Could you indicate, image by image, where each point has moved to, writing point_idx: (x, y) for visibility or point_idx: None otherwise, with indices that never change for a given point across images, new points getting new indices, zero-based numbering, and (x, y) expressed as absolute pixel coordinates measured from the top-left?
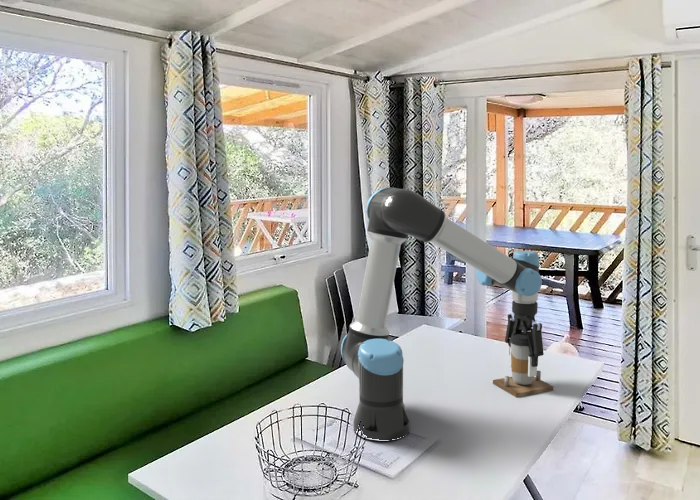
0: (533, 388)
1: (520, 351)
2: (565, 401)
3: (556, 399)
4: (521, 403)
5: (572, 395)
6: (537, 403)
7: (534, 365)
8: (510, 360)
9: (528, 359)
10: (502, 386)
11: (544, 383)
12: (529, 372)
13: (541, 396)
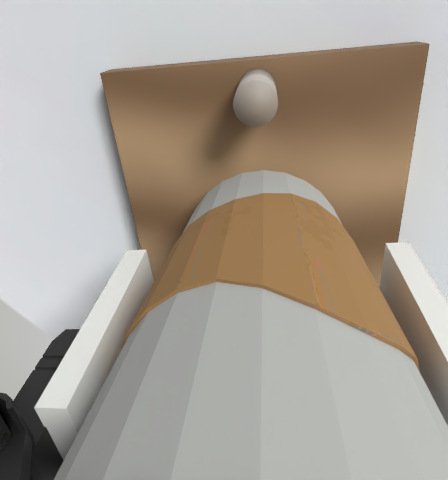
0: (161, 235)
1: (108, 403)
2: (24, 291)
3: (52, 271)
4: (6, 43)
5: None
6: (3, 148)
7: (51, 345)
8: (421, 282)
9: (84, 365)
10: (278, 55)
11: None
12: (114, 272)
13: (100, 228)
